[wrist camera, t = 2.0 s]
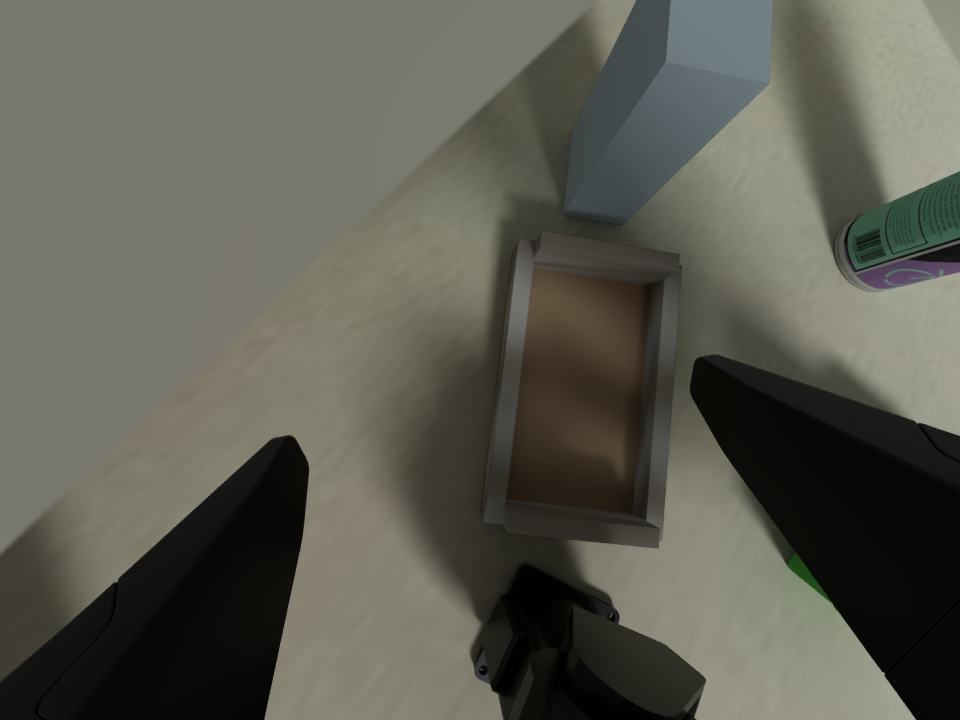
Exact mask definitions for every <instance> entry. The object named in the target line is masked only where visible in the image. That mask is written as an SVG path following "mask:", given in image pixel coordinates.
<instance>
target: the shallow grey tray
mask: <svg viewBox="0 0 960 720" xmlns="http://www.w3.org/2000/svg"><path fill="white" fill-rule="evenodd" d="M679 259H680V254H675V253H669V252H663V251H657V250H651V249H645V248H639V247H634V246H628V245H622V244H616V243H610V242H604V241H598V240H592V239H587V238H581V237H575V236H569V235H563V234H557V233H551V232H546V231H542V232H541V234H540V235H539V237H538V239H537V240H536V241H533V240H527V239H521V238H519V240H518V242H517V244H516V246H515V248H514V250H513V252H512V259H511V267H510V275H509V283H508V291H507V300H506V308H505V316H504V324H503V332H502V340H501V348H500V357H499V365H498V373H497V381H496V389H495V397H494V405H493V413H492V422H491V430H490V438H489V446H488V454H487V462H486V470H485V478H484V487H483V495H482V503H481V511H480V512H481V515H482V517H483V520H484V522H485V523H490V524H500V525H503V526H504V527H505V529H506V531H507V533H511V534H521V535H531V536H541V537H550V538H560V539H570V540H580V541H590V542H600V543H610V544H619V545H629V546H639V547H649V548H659V541H662V535H663V521H664V507H665V493H666V479H667V465H668V451H669V437H670V423H671V409H672V395H673V381H674V367H675V353H676V339H677V325H678V311H679V297H680V283H681V269H682V265H679Z"/></svg>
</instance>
